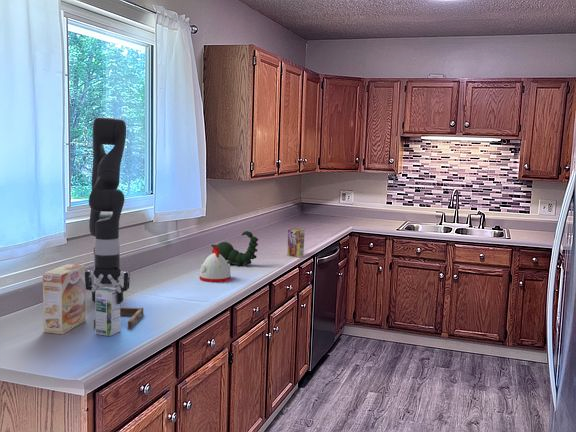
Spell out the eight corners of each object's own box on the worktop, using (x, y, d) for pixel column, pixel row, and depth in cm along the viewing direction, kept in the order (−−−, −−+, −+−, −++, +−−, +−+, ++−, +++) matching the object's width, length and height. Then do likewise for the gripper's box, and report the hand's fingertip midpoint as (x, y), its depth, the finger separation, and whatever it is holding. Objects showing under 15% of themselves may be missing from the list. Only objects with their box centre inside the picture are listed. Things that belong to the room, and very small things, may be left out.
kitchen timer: (204, 283, 262) (205, 249, 260) (196, 276, 274) (196, 244, 272) (234, 281, 268) (235, 248, 266) (225, 274, 280) (225, 243, 278)
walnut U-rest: (108, 313, 213) (108, 306, 213) (143, 314, 213) (143, 308, 213) (93, 327, 198) (93, 320, 197) (131, 328, 198) (131, 321, 197)
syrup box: (94, 334, 191) (94, 289, 189) (106, 328, 197) (106, 285, 195) (109, 336, 189) (109, 292, 187) (121, 331, 194) (120, 287, 193)
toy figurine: (257, 268, 303) (214, 259, 312) (261, 231, 300) (217, 223, 309) (250, 272, 294) (205, 262, 303) (254, 234, 291) (208, 225, 300)
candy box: (304, 256, 329) (305, 229, 327) (299, 257, 325) (300, 229, 323) (292, 254, 334) (292, 227, 333) (286, 255, 331) (287, 228, 329)
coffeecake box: (63, 334, 190) (62, 274, 187) (42, 332, 191) (41, 272, 189) (86, 320, 204) (86, 264, 202) (67, 319, 206) (66, 263, 203)
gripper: (133, 250, 193) (133, 300, 195) (88, 249, 193) (89, 299, 195) (126, 255, 186) (126, 307, 188) (80, 253, 186) (81, 305, 188)
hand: (107, 303), depth 192 cm, fingers closed on syrup box, 7 cm apart
